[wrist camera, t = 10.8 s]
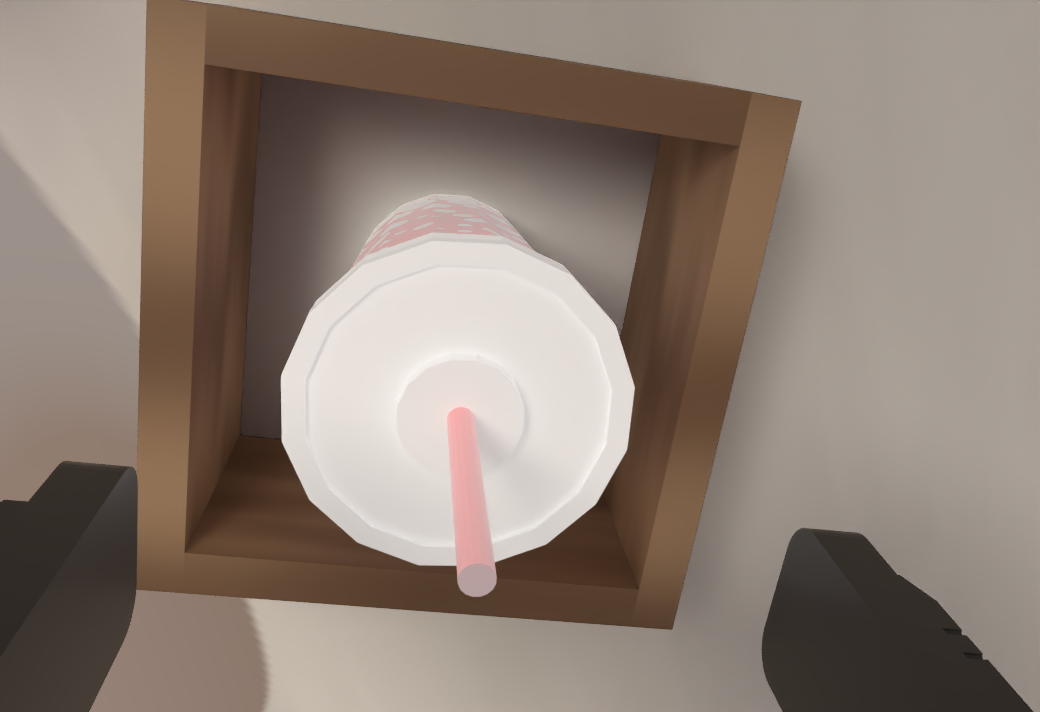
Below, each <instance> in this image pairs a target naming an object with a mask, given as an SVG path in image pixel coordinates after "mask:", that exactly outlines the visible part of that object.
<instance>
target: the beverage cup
mask: <svg viewBox="0 0 1040 712" xmlns="http://www.w3.org/2000/svg"><path fill="white" fill-rule="evenodd" d="M634 390H635V386H634V383H633V380H632V376H631V373H630V370H629V367H628V363H627V360H626V357H625V354H624V350H623V347H622V344H621V341H620V337H619V334H618V331H617V328H616V325H615V324H614V322H613V321H612V320H611V318H610V317H609V316H608V315H607V314H606V313H605V312H604V310H603V309H602V308H601V307H600V306H599V305H598V304H597V302H596V301H595V300H594V299H593V298H592V297H591V296H590V295H589V293H588V292H587V291H586V290H585V289H584V288H583V287H582V285H581V284H580V283H579V282H578V281H577V280H576V279H575V277H574V276H573V275H572V274H571V273H570V272H569V271H568V270H567V269H566V268H565V266H564V265H562V264H560V263H558V262H556V261H554V260H552V259H550V258H548V257H546V256H543V255H541V254H539V253H537V252H535V251H534V250H533V249H532V248H531V247H530V245H529V244H528V243H527V242H526V241H525V240H524V238H523V237H522V236H521V235H520V234H519V233H518V232H517V231H516V229H515V228H514V227H513V226H512V225H511V224H510V223H509V221H508V220H507V219H506V218H505V217H504V216H503V215H502V214H501V212H500V211H498V210H496V209H494V208H492V207H490V206H488V205H486V204H484V203H481V202H479V201H477V200H475V199H473V198H471V197H469V196H459V195H441V194H432V195H429V196H426V197H423V198H420V199H417V200H415V201H412V202H409V203H406V204H403V205H400V206H399V207H398V208H397V209H396V210H395V211H393V212H392V213H391V214H390V215H389V216H388V217H387V218H386V219H385V220H383V221H382V222H381V223H380V224H379V225H378V226H377V227H376V228H375V229H374V230H373V232H372V234H371V235H370V237H369V239H368V240H367V242H366V244H365V246H364V247H363V249H362V251H361V253H360V254H359V256H358V258H357V259H356V261H355V263H354V265H353V266H352V268H351V270H349V271H348V272H347V273H346V274H345V275H344V276H343V277H342V278H341V279H339V280H338V281H337V282H336V283H335V284H334V285H333V286H332V287H331V288H329V289H328V290H327V291H326V292H325V293H324V294H323V295H322V296H321V297H320V298H318V299H317V300H316V301H315V303H314V306H313V307H312V308H311V309H310V311H309V314H308V316H307V318H306V320H305V323H304V325H303V327H302V329H301V332H300V334H299V336H298V338H297V341H296V343H295V345H294V347H293V349H292V352H291V354H290V356H289V358H288V361H287V363H286V365H285V367H284V370H283V372H282V375H281V425H282V443H283V446H284V448H285V450H286V452H287V454H288V456H289V458H290V460H291V462H292V465H293V467H294V469H295V471H296V473H297V475H298V477H299V479H300V481H301V483H302V486H303V488H304V490H305V492H306V494H307V496H308V498H309V500H310V501H311V502H312V503H313V504H314V505H316V506H317V507H318V508H319V509H320V510H321V511H322V512H323V513H325V514H326V515H327V516H328V517H329V518H330V519H331V520H332V521H334V522H335V523H336V524H337V525H338V526H339V527H340V528H342V529H343V530H344V531H345V532H346V533H347V534H348V535H349V536H351V537H352V538H353V539H354V540H355V541H356V542H357V543H360V544H362V545H365V546H368V547H370V548H373V549H376V550H379V551H381V552H384V553H387V554H389V555H392V556H395V557H397V558H400V559H403V560H406V561H408V562H411V563H414V564H416V565H434V566H457V580H458V585H459V588H460V590H461V591H462V592H464V593H465V594H466V595H469V596H472V597H481V596H484V595H487V594H488V593H489V592H491V591H492V590H493V588H494V587H495V585H496V580H497V576H496V568H495V562H497V561H500V560H503V559H506V558H509V557H512V556H514V555H517V554H520V553H523V552H526V551H529V550H532V549H535V548H538V547H541V546H543V545H546V544H547V543H549V542H550V541H551V540H552V539H554V538H555V537H556V536H557V535H558V534H560V533H561V532H562V531H563V530H565V529H566V528H567V527H568V526H570V525H571V524H572V523H573V522H575V521H576V520H577V519H578V518H580V517H581V516H582V515H583V514H585V513H586V512H587V511H588V510H589V509H591V508H592V507H593V506H594V505H596V503H597V501H598V500H599V498H600V496H601V494H602V493H603V491H604V489H605V487H606V486H607V484H608V482H609V481H610V479H611V477H612V475H613V474H614V472H615V470H616V468H617V467H618V465H619V463H620V461H621V460H622V458H623V456H624V454H625V453H626V451H627V447H628V439H629V431H630V423H631V415H632V407H633V399H634Z"/></svg>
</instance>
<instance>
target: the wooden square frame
mask: <svg viewBox="0 0 1040 712" xmlns="http://www.w3.org/2000/svg"><path fill="white" fill-rule="evenodd" d="M262 73H265V74H271V75H278V76H284V77H291V78H297V79H304V80H310V81H317V82H323V83H330V84H336V85H343V86H350V87H356V88H363V89H369V90H376V91H382V92H389V93H395V94H402V95H408V96H415V97H421V98H428V99H434V100H441V101H447V102H454V103H460V104H467V105H474V106H480V107H487V108H493V109H500V110H506V111H513V112H519V113H526V114H532V115H539V116H545V117H552V118H558V119H565V120H571V121H578V122H584V123H591V124H598V125H604V126H611V127H617V128H624V129H630V130H637V131H643V132H650V133H656V134H661V138H660V143H659V148H658V153H657V158H656V163H655V168H654V173H653V178H652V183H651V188H650V193H649V198H648V203H647V208H646V213H645V218H644V223H643V228H642V233H641V238H640V243H639V248H638V253H637V258H636V263H635V268H634V273H633V278H632V283H631V288H630V293H629V298H628V303H627V308H626V314H625V319H624V324H623V329H622V334H621V339H620V341H621V344H622V347H623V350H624V354H625V357H626V360H627V363H628V367H629V370H630V373H631V376H632V380H633V383H634V386H635V390H634V399H633V407H632V415H631V423H630V431H629V439H628V447H627V451H626V453H625V454H624V456H623V458H622V460H621V461H620V463H619V465H618V467H617V468H616V470H615V472H614V474H613V475H612V477H611V479H610V481H609V482H608V484H607V486H606V487H605V489H604V491H603V493H602V494H601V496H600V498H599V500H598V501H597V503H596V505H594V506H593V507H592V508H591V509H589V510H588V511H587V512H586V513H585V514H583V515H582V516H581V517H580V518H578V519H577V520H576V521H575V522H573V523H572V524H571V525H570V526H568V527H567V528H566V529H565V530H563V531H562V532H561V533H560V534H558V535H557V536H556V537H555V538H554V539H552V540H551V541H550V542H549V543H547V544H546V545H543V546H541V547H538V548H535V549H532V550H529V551H526V552H523V553H520V554H517V555H514V556H512V557H509V558H506V559H503V560H500V561H497V562H495V568H496V576H497V580H496V585H495V587H494V588H493V590H492V591H491V592H489V593H488V594H487V595H484V596H481V597H472V596H469V595H466V594H465V593H464V592H462V591H461V590H460V588H459V585H458V580H457V566H434V565H416V564H414V563H411V562H408V561H406V560H403V559H400V558H397V557H395V556H392V555H389V554H387V553H384V552H381V551H379V550H376V549H373V548H370V547H368V546H365V545H362V544H360V543H357V542H356V541H355V540H354V539H353V538H352V537H351V536H349V535H348V534H347V533H346V532H345V531H344V530H343V529H342V528H340V527H339V526H338V525H337V524H336V523H335V522H334V521H332V520H331V519H330V518H329V517H328V516H327V515H326V514H325V513H323V512H322V511H321V510H320V509H319V508H318V507H317V506H316V505H314V504H313V503H312V502H311V501H310V500H309V498H308V496H307V494H306V492H305V490H304V488H303V486H302V483H301V481H300V479H299V477H298V475H297V473H296V471H295V469H294V467H293V465H292V462H291V460H290V458H289V456H288V454H287V452H286V450H285V448H284V446H283V443H282V440H281V439H270V438H260V437H250V436H240V423H241V407H242V390H243V373H244V357H245V340H246V324H247V307H248V290H249V274H250V257H251V241H252V224H253V208H254V191H255V174H256V158H257V141H258V125H259V108H260V91H261V75H262ZM801 102H802V101H799V100H793V99H788V98H782V97H777V96H771V95H766V94H761V93H755V92H750V91H744V90H739V89H733V88H728V87H722V86H717V85H711V84H705V83H699V82H693V81H687V80H681V79H674V78H668V77H662V76H656V75H650V74H644V73H637V72H631V71H625V70H619V69H613V68H607V67H600V66H594V65H588V64H582V63H576V62H570V61H564V60H557V59H551V58H545V57H539V56H533V55H527V54H520V53H514V52H508V51H502V50H496V49H490V48H483V47H477V46H471V45H465V44H459V43H453V42H447V41H440V40H434V39H428V38H422V37H416V36H410V35H403V34H397V33H391V32H385V31H379V30H373V29H367V28H360V27H354V26H348V25H342V24H336V23H330V22H323V21H317V20H311V19H305V18H299V17H293V16H286V15H280V14H274V13H268V12H262V11H256V10H250V9H243V8H237V7H231V6H225V5H218V4H211V3H203V2H196V1H189V0H147V15H146V63H145V110H144V158H143V206H142V254H141V301H140V350H139V397H138V398H139V399H138V446H137V480H138V525H137V586H136V590H149V591H162V592H175V593H188V594H202V595H215V596H229V597H242V598H255V599H269V600H282V601H295V602H309V603H322V604H336V605H349V606H362V607H376V608H389V609H402V610H416V611H429V612H443V613H456V614H469V615H483V616H496V617H509V618H523V619H536V620H550V621H563V622H576V623H590V624H603V625H616V626H630V627H643V628H657V629H670V630H672V628H673V624H674V620H675V616H676V612H677V608H678V604H679V600H680V596H681V592H682V588H683V584H684V579H685V575H686V571H687V567H688V563H689V559H690V555H691V551H692V547H693V543H694V539H695V535H696V531H697V526H698V522H699V518H700V514H701V510H702V506H703V502H704V498H705V494H706V490H707V486H708V482H709V478H710V473H711V469H712V465H713V461H714V457H715V453H716V449H717V445H718V441H719V437H720V433H721V429H722V425H723V420H724V416H725V412H726V408H727V404H728V400H729V396H730V392H731V388H732V384H733V380H734V376H735V372H736V367H737V363H738V359H739V355H740V351H741V347H742V343H743V339H744V335H745V331H746V327H747V323H748V319H749V314H750V310H751V306H752V302H753V298H754V294H755V290H756V286H757V282H758V278H759V274H760V270H761V266H762V261H763V257H764V253H765V249H766V245H767V241H768V237H769V233H770V229H771V225H772V221H773V217H774V213H775V208H776V204H777V200H778V196H779V192H780V188H781V184H782V180H783V176H784V172H785V168H786V164H787V160H788V155H789V151H790V147H791V143H792V139H793V135H794V131H795V127H796V123H797V119H798V115H799V111H800V107H801Z"/></svg>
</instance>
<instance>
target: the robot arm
mask: <svg viewBox="0 0 1040 712" xmlns="http://www.w3.org/2000/svg"><path fill="white" fill-rule="evenodd" d="M137 525H138V480H137V474H136V471H135V470H134V468H133V467H126V466H116V465H105V464H93V463H82V462H71V461H63V462H62V463H60V464H59V465H58V466H57V467H56V469H55V470H54V471H53V472H52V473H51V475H50V476H49V477H48V478H47V480H46V481H45V482H44V483H43V484H42V486H41V487H40V488H39V489H38V490H37V492H36V493H35V494H34V495H33V496H32V498H31V499H30V500H29V501H28V502H25V501H12V500H3V501H2V502H0V712H89V711H90V709H91V706H92V705H93V703H94V701H95V698H96V696H97V694H98V692H99V690H100V688H101V686H102V684H103V682H104V680H105V678H106V676H107V674H108V672H109V670H110V668H111V666H112V664H113V662H114V660H115V658H116V656H117V654H118V652H119V650H120V648H121V645H122V643H123V641H124V639H125V636H126V634H127V631H128V628H129V625H130V621H131V618H132V613H133V609H134V603H135V596H136V586H137ZM961 631H962V630H961V628H960V627H959V626H958V625H957V624H956V623H955V622H954V620H953V619H952V618H951V617H950V616H949V615H948V614H947V612H946V611H945V610H944V609H943V608H942V607H941V606H940V604H939V603H938V602H937V601H936V600H934V599H933V598H931V597H930V596H929V595H927V594H926V593H924V592H923V591H922V590H920V589H919V588H917V587H916V586H914V585H913V584H912V583H910V582H909V581H907V580H906V579H904V578H903V577H902V576H900V575H897V574H896V573H895V572H894V570H893V569H892V568H891V567H890V566H889V565H888V563H887V562H886V561H885V560H884V559H883V557H882V556H881V555H880V554H879V553H878V551H877V550H876V549H875V548H874V547H873V546H872V544H871V543H870V542H869V541H868V540H867V539H866V538H865V537H864V536H863V535H862V534H860V533H853V532H842V531H831V530H820V529H808V528H802V529H799V530H797V531H796V532H795V533H794V535H793V536H792V538H791V540H790V542H789V545H788V548H787V552H786V555H785V559H784V562H783V566H782V569H781V572H780V576H779V579H778V583H777V586H776V590H775V593H774V597H773V600H772V604H771V607H770V611H769V614H768V618H767V621H766V625H765V628H764V632H763V639H762V661H763V668H764V672H765V676H766V679H767V681H768V684H769V686H770V688H771V690H772V692H773V693H774V695H775V697H776V699H777V701H778V703H779V705H780V707H781V709H782V711H783V712H1033V711H1032V710H1031V709H1030V707H1029V706H1028V705H1027V704H1026V703H1025V702H1024V701H1023V699H1022V698H1021V697H1020V696H1019V695H1018V694H1017V693H1016V691H1015V690H1014V689H1013V688H1012V687H1011V686H1010V685H1009V683H1008V682H1007V681H1006V680H1005V679H1004V678H1003V677H1002V675H1001V674H1000V673H999V672H998V671H997V670H996V669H995V667H994V666H993V665H992V664H991V663H990V662H989V661H988V660H983V658H982V653H981V651H980V650H979V649H978V648H977V647H976V646H975V644H974V643H973V642H972V641H971V640H970V639H969V638H968V636H965V635H962V634H961Z"/></svg>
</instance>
